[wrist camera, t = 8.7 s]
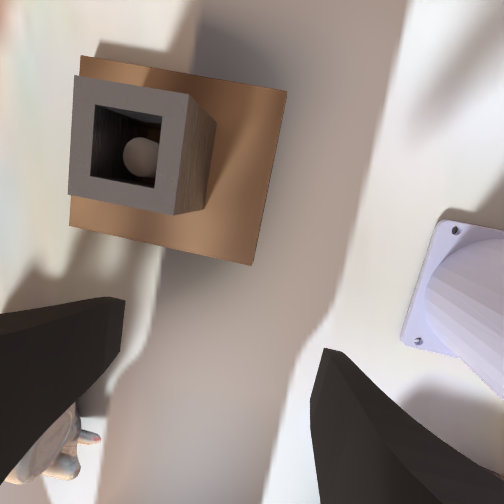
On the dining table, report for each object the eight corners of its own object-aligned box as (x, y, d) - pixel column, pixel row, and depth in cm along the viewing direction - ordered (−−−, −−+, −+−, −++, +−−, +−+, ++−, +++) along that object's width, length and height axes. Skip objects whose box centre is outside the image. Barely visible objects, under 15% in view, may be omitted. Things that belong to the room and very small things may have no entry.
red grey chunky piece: (-73, 294, 20) (-207, 440, 10) (109, 294, 26) (134, 386, 16) (-71, 435, 22) (-179, 662, 13) (94, 405, 28) (108, 545, 19)
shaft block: (286, 96, 17) (286, 64, 13) (253, 262, 20) (243, 282, 15) (91, 62, 18) (29, 21, 14) (79, 224, 20) (22, 232, 16)
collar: (217, 122, 17) (188, 94, 12) (204, 209, 18) (173, 215, 13) (133, 107, 18) (74, 74, 13) (125, 194, 19) (67, 194, 14)
